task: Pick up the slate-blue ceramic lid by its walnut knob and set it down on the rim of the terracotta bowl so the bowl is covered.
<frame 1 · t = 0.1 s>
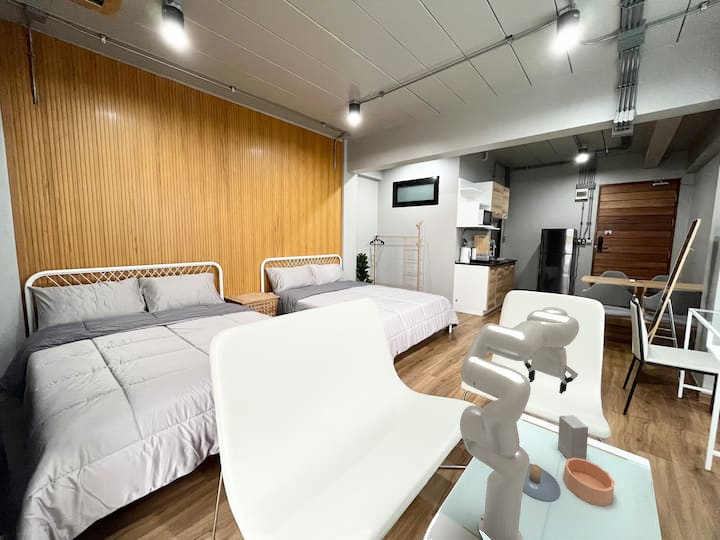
hand: (546, 386, 106), 37 cm above the table, tool pointing down, fingers open, 9 cm apart
skincare box: (570, 455, 121), on the table
lid: (534, 482, 109), on the table
bowl: (586, 487, 106), on the table
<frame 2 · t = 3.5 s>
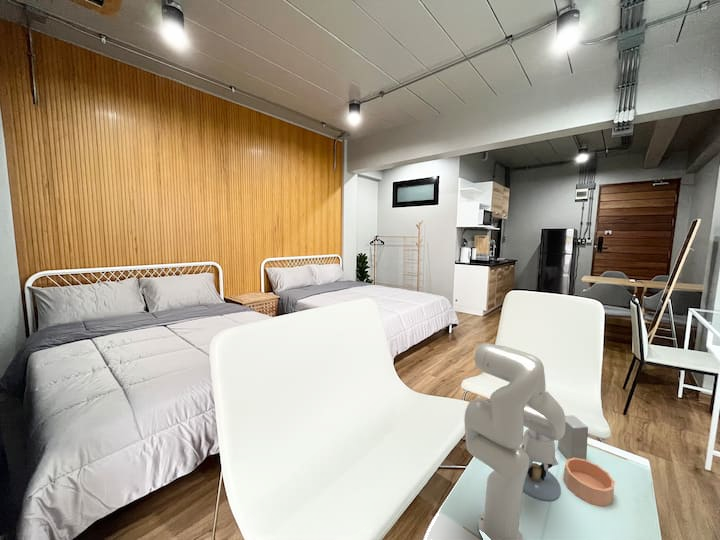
hand: (535, 475, 108), 2 cm above the table, tool pointing down, fingers closed on lid, 3 cm apart
lid: (534, 481, 109), on the table, touching gripper
everything else where it was.
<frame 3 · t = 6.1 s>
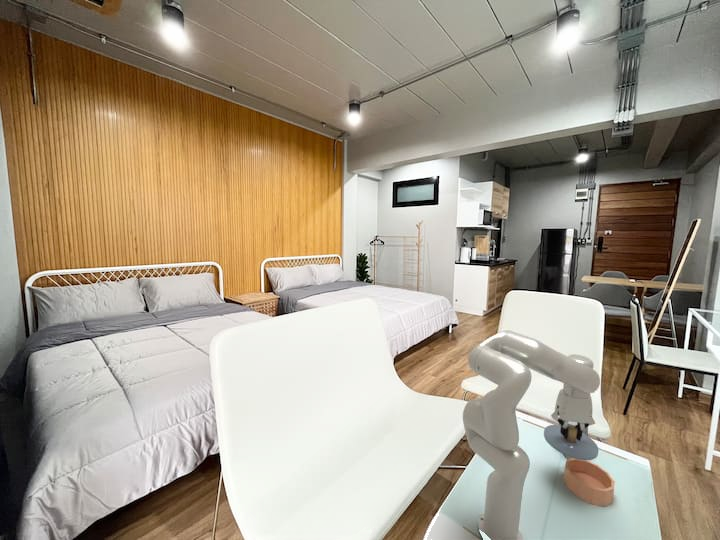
hand: (570, 436, 104), 20 cm above the table, tool pointing down, fingers closed on lid, 3 cm apart
lid: (569, 442, 105), point 17 cm above the table, touching gripper
everything else where it was.
when the fingers open (10 cm above the table, at t = 8.7 s): lid drops 1 cm, resting on bowl.
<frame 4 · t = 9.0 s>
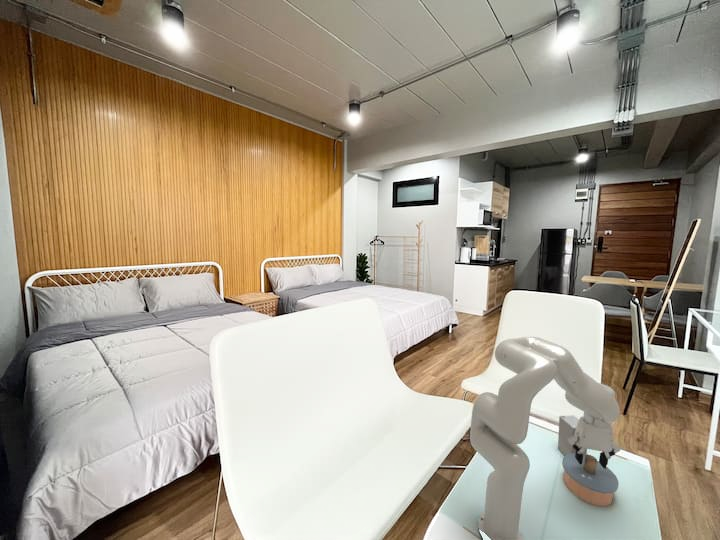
hand: (590, 463, 105), 10 cm above the table, tool pointing down, fingers open, 6 cm apart
lid: (588, 473, 105), point 6 cm above the table, touching bowl
everything else where it was.
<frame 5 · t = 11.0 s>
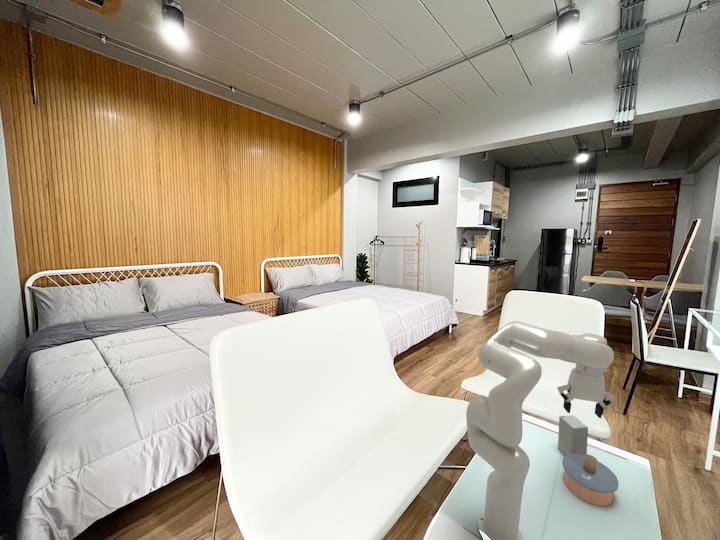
hand: (582, 413, 105), 28 cm above the table, tool pointing down, fingers open, 9 cm apart
nothing on the table moved.
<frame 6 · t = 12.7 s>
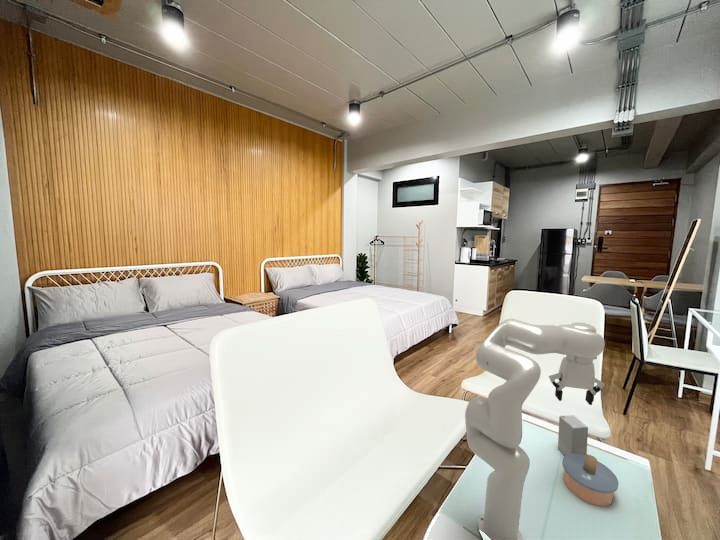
hand: (573, 400, 107), 31 cm above the table, tool pointing down, fingers open, 9 cm apart
nothing on the table moved.
at the end: lid 0.1 cm off-centre on the bowl, point 6.0 cm above the bowl's base; lid tilted 0°; the gripper is holding nothing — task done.
